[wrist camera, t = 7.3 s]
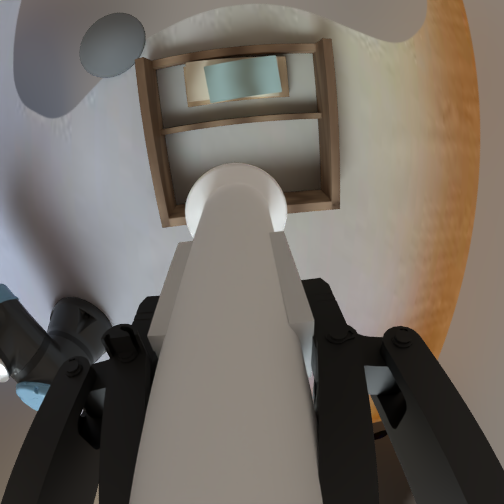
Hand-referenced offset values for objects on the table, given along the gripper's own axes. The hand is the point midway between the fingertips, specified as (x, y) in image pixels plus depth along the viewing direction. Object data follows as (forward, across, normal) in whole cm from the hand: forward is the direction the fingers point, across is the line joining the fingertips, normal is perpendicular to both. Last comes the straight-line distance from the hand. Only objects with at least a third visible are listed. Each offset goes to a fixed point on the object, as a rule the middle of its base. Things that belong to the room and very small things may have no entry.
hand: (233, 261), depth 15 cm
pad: (+32, -17, +21) cm, 42 cm away
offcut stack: (+32, +1, +11) cm, 34 cm away
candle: (+7, 0, 0) cm, 7 cm away
